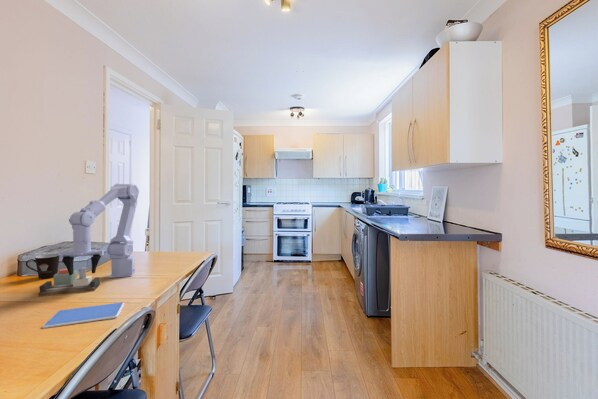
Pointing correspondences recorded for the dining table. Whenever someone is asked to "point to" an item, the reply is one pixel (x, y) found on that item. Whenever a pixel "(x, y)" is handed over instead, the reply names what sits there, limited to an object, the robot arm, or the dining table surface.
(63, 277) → the gauge cabinet
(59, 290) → the dark gray tray
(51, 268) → the coffee mug
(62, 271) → the plunger
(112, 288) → the dining table surface
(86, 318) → the tablet computer
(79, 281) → the carriage
